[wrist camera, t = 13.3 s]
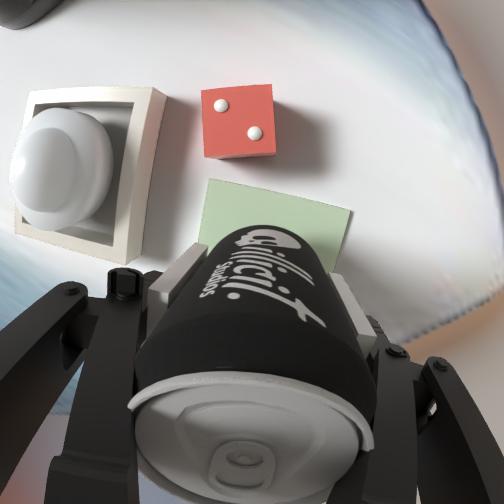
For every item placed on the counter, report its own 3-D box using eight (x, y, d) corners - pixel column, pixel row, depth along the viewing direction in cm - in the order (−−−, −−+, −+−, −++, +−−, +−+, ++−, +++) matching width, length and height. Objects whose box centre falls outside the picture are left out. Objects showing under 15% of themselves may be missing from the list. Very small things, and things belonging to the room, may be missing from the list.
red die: (214, 104, 17) (200, 90, 13) (272, 99, 17) (271, 83, 13) (217, 159, 18) (204, 156, 14) (275, 155, 18) (276, 151, 14)
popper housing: (49, 96, 17) (29, 92, 15) (167, 96, 17) (152, 87, 14) (34, 226, 20) (14, 232, 18) (141, 254, 20) (125, 265, 18)
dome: (44, 113, 16) (-6, 107, 11) (126, 114, 16) (78, 100, 11) (32, 213, 18) (-16, 228, 13) (109, 232, 18) (61, 254, 13)
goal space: (209, 178, 18) (209, 178, 18) (349, 210, 18) (350, 210, 18) (189, 306, 21) (188, 307, 20) (312, 332, 21) (312, 334, 20)
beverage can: (332, 231, 16) (447, 369, 4) (309, 337, 17) (336, 521, 6) (210, 214, 16) (74, 319, 4) (202, 322, 18) (126, 493, 6)
